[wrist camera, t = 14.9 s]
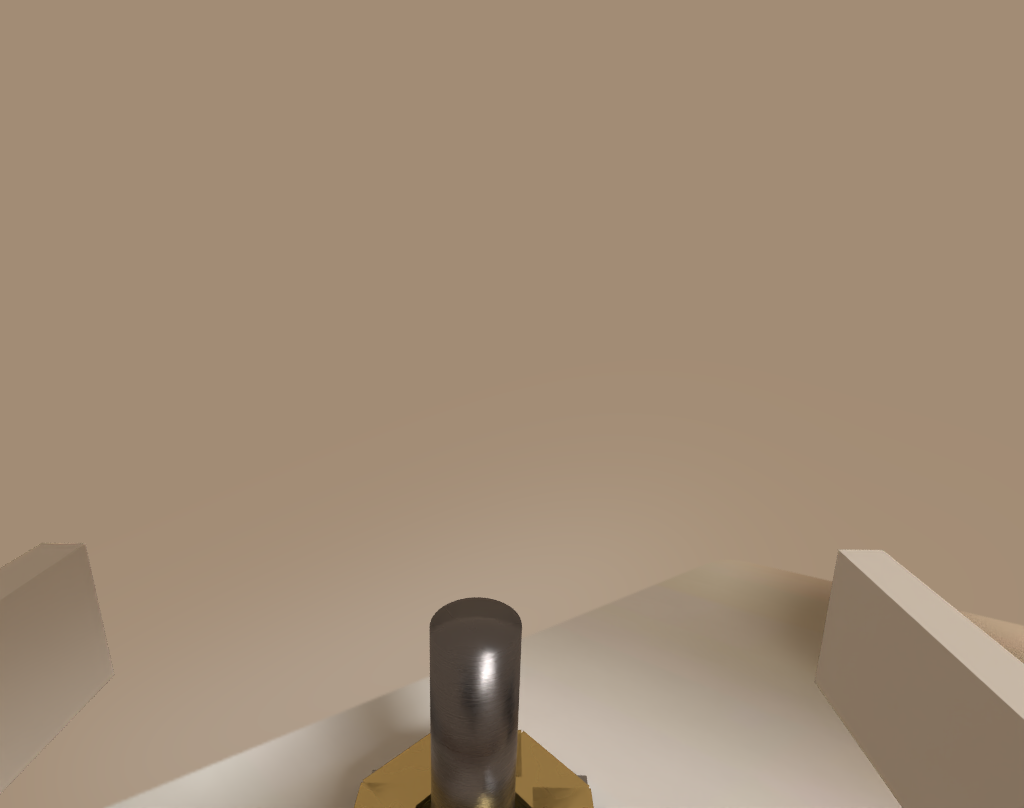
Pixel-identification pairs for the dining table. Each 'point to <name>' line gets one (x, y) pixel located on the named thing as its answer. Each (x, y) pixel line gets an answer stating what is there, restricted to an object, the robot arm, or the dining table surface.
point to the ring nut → (538, 793)
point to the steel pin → (474, 704)
